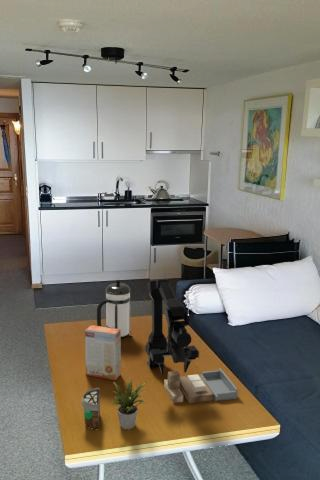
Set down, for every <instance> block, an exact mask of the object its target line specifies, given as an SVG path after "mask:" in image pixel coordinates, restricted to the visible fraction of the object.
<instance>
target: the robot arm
mask: <svg viewBox="0 0 320 480" xmlns="http://www.w3.org/2000/svg"><path fill="white" fill-rule="evenodd" d="M146 289H147V292H148V293H147V294H148V295H149V297H150V298H151V332H150V334H149V336H148V340H147V343H146V344H145V346H144V348H145V349H144V350H145V353H146V355H147V362H146V364H147V366H148V367H149V369H150V370H151V369H159V370H160V373H161V375H162V376H164V372H165V371H164V368H165V358H166V357H171V358H172V362H173V363H174V364H178V363H183V372H184V374H186V372H187V371H188V369H189V366H190V364H191V363H192V361H194V360H196V359H197V358H199V357H200V351H199V350H198V348H197V346H196V345H191V342H192V337H191V334H190V333H189V332H188V330H187V328H186V327H188V326H190V324H189V323H190V318H189V314H188V311H187V309H186V307H185V306H184V304H183V303H182V301H180V300H178V299H177V298H176V295H175V294H174V291H173V289H172V287H171V285H170V280H169V279H168V278H158V279H150V280H149V281H147V284H146ZM163 303H164V304H165V309H164V311H163ZM163 312H164V316H165V319H166V322H167V323H166V324H167V335H166V336H165V334H164V333H163V331H164V330H163Z"/></svg>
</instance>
